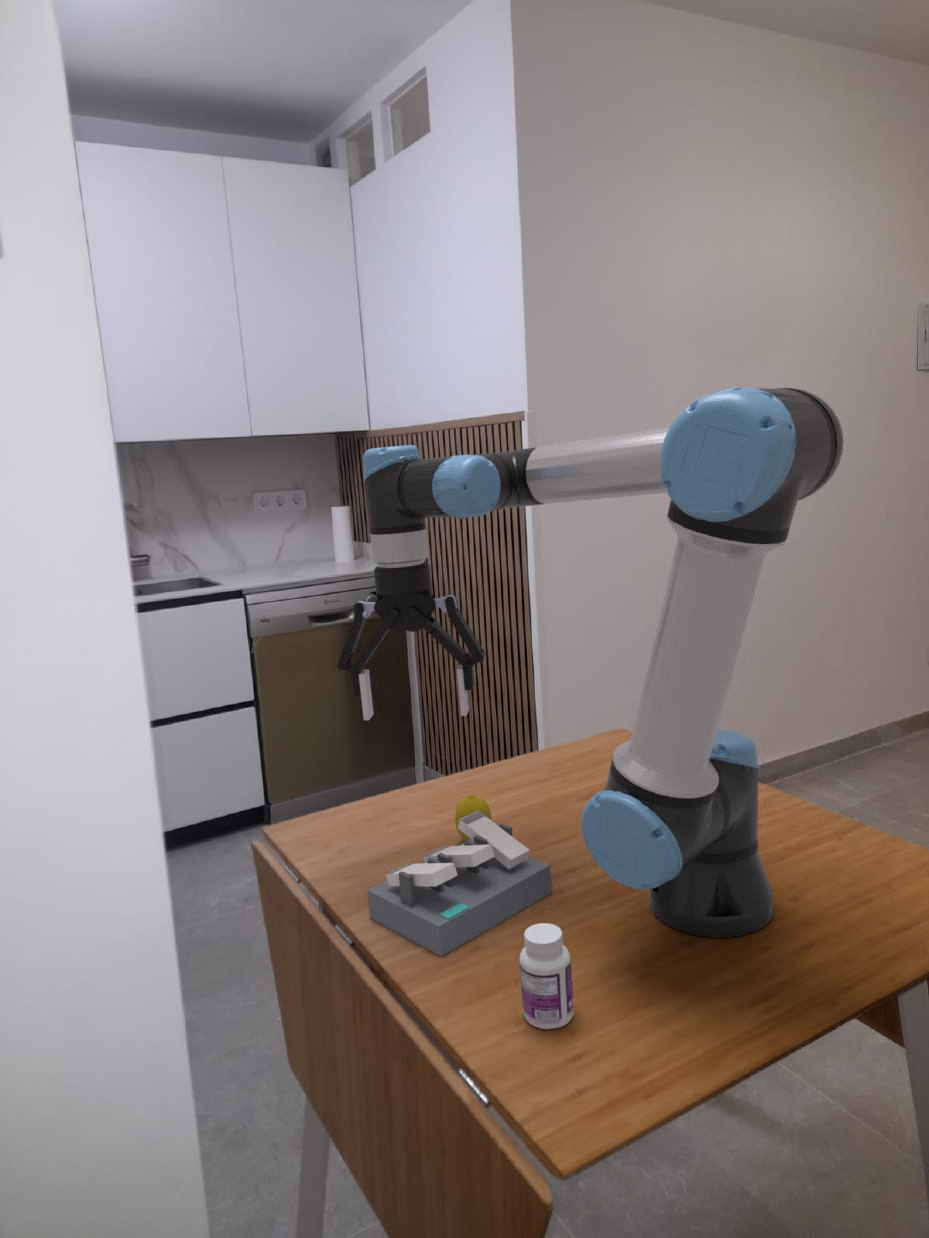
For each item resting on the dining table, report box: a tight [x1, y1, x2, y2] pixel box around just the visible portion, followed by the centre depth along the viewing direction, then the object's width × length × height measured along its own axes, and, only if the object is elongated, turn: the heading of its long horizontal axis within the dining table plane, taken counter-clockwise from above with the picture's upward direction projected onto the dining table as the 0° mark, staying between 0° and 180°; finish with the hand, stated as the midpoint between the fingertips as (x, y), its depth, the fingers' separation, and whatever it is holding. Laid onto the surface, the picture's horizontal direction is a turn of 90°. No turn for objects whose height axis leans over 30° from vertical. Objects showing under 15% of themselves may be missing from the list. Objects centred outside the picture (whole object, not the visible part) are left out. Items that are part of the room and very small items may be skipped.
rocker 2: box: [423, 844, 495, 867], centre depth 119 cm, size 10×4×2 cm, turn 43°
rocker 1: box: [385, 862, 458, 887], centre depth 115 cm, size 10×4×2 cm, turn 43°
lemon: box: [454, 793, 493, 841], centre depth 137 cm, size 6×6×8 cm
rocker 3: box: [458, 811, 531, 869], centre depth 123 cm, size 10×4×2 cm, turn 44°
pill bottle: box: [518, 922, 575, 1030], centre depth 95 cm, size 5×5×10 cm
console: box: [366, 823, 553, 958], centre depth 119 cm, size 14×20×8 cm
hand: (416, 715), depth 126 cm, fingers open, 13 cm apart
